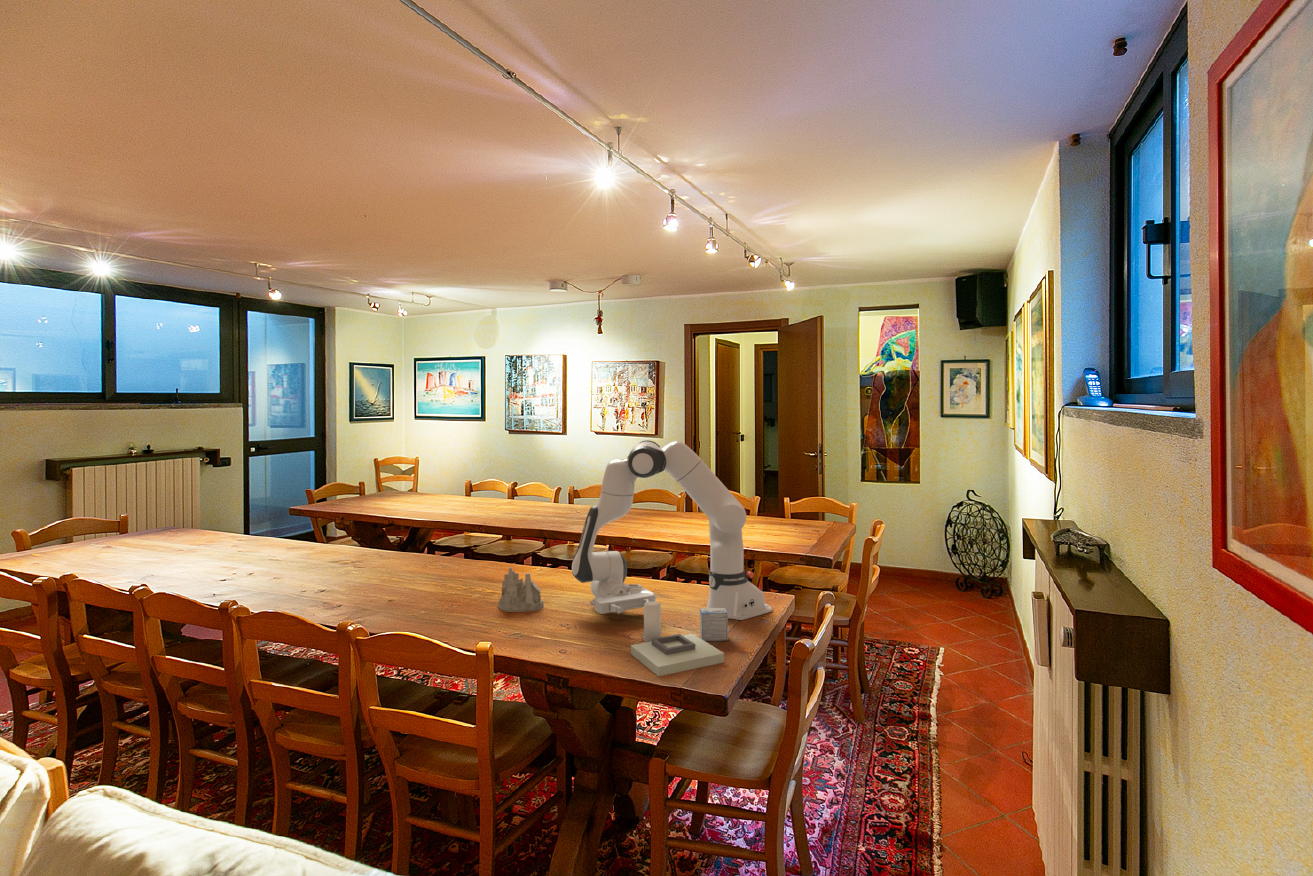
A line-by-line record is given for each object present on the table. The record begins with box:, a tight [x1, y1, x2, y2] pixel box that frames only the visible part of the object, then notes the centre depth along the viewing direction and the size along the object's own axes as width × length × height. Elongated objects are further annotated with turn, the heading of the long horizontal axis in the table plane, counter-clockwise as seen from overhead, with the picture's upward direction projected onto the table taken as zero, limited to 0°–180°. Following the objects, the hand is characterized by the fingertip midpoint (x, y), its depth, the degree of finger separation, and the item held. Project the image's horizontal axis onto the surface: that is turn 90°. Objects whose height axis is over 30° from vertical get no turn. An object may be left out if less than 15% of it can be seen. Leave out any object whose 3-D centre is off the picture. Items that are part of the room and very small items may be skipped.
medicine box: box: [699, 607, 729, 642], centre depth 193 cm, size 8×4×9 cm, turn 92°
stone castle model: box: [497, 566, 545, 613], centre depth 227 cm, size 16×16×15 cm
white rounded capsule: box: [643, 601, 662, 643], centre depth 191 cm, size 5×5×11 cm
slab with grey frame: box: [630, 633, 725, 677], centre depth 178 cm, size 20×17×4 cm
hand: (634, 608), depth 202 cm, fingers open, 8 cm apart
